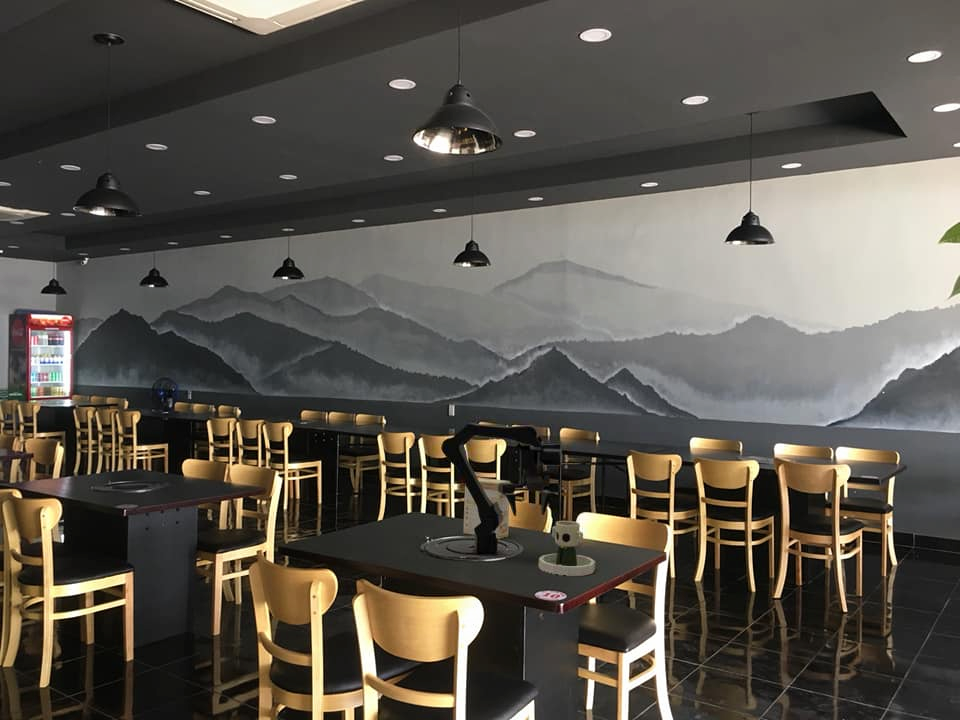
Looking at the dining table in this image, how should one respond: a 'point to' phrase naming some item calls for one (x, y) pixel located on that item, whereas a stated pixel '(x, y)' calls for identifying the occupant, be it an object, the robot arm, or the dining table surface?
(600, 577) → the dining table surface
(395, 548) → the dining table surface
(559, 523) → the character mug
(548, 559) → the grey ring base
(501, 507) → the coffeecake box
